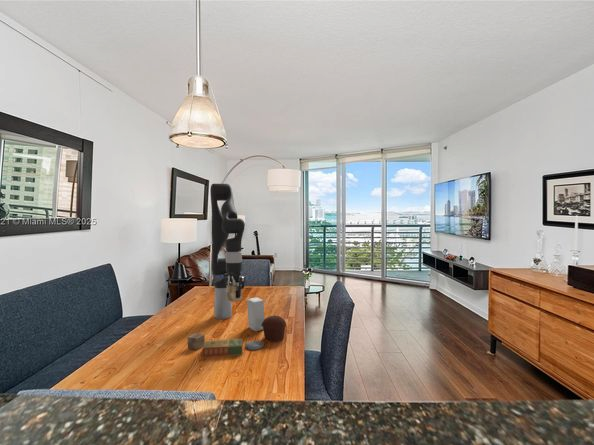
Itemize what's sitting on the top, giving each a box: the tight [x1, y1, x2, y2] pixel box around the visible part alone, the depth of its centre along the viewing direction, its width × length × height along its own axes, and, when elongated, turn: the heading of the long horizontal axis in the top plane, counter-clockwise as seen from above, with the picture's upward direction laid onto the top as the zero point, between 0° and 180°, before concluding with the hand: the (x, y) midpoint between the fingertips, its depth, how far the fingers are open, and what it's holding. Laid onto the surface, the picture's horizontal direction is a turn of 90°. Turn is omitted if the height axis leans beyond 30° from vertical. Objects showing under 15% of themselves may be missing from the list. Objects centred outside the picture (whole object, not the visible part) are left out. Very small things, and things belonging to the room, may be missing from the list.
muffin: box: [261, 315, 287, 343], centre depth 146 cm, size 12×11×10 cm
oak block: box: [227, 284, 243, 303], centre depth 147 cm, size 5×5×7 cm
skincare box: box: [246, 296, 266, 332], centre depth 158 cm, size 8×6×15 cm
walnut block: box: [187, 332, 206, 351], centre depth 137 cm, size 5×5×5 cm
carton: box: [201, 338, 244, 359], centre depth 132 cm, size 8×16×4 cm, turn 99°
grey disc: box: [244, 340, 265, 351], centre depth 137 cm, size 8×8×1 cm
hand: (234, 296), depth 147 cm, fingers closed on oak block, 5 cm apart
